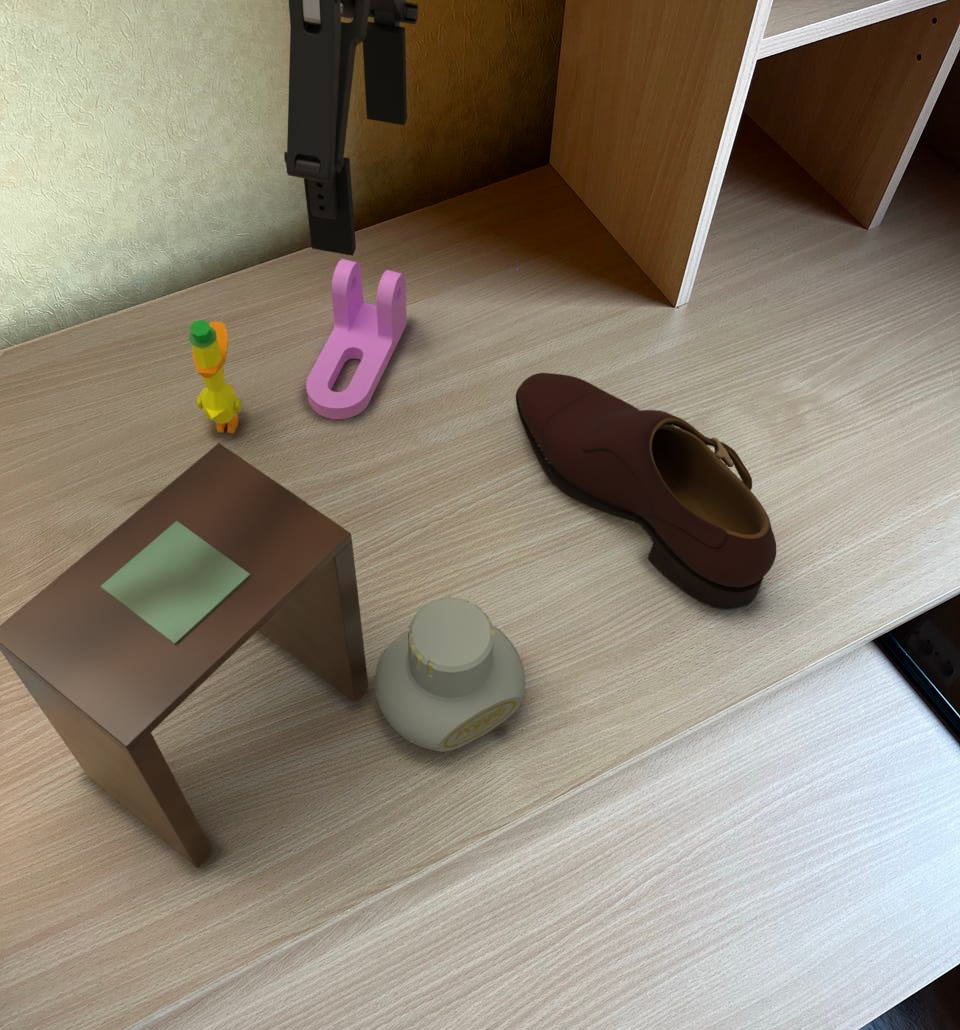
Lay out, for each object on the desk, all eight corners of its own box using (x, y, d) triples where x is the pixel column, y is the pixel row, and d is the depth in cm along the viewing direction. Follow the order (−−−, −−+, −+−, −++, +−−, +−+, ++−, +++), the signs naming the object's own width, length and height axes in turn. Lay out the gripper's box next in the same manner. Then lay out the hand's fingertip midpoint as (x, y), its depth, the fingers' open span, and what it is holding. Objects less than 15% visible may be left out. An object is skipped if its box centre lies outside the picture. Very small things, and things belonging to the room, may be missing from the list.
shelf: (87, 775, 78) (-13, 632, 61) (262, 609, 86) (218, 439, 68) (196, 868, 75) (125, 746, 58) (369, 688, 83) (351, 531, 65)
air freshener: (481, 626, 86) (486, 554, 77) (540, 707, 82) (552, 640, 74) (358, 691, 82) (350, 623, 74) (415, 778, 79) (413, 717, 70)
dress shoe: (564, 376, 99) (579, 274, 89) (789, 582, 89) (834, 494, 79) (485, 422, 96) (491, 323, 86) (708, 641, 86) (744, 558, 76)
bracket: (350, 310, 102) (345, 250, 96) (406, 324, 102) (404, 264, 96) (298, 410, 96) (288, 352, 90) (357, 425, 95) (352, 368, 89)
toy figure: (214, 392, 97) (187, 286, 86) (254, 394, 97) (233, 289, 86) (200, 451, 93) (171, 348, 83) (242, 454, 93) (218, 351, 83)
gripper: (344, -41, 48) (368, 320, 67) (465, -281, 61) (456, 80, 79) (181, -67, 49) (249, 299, 67) (334, -300, 61) (356, 63, 80)
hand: (361, 181), depth 73 cm, fingers open, 13 cm apart
